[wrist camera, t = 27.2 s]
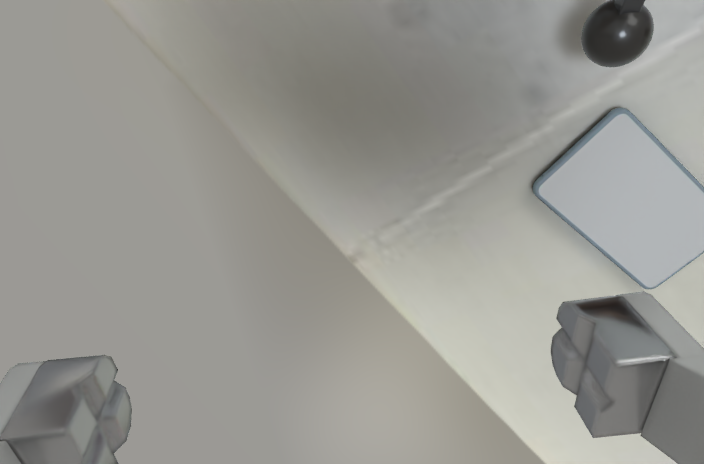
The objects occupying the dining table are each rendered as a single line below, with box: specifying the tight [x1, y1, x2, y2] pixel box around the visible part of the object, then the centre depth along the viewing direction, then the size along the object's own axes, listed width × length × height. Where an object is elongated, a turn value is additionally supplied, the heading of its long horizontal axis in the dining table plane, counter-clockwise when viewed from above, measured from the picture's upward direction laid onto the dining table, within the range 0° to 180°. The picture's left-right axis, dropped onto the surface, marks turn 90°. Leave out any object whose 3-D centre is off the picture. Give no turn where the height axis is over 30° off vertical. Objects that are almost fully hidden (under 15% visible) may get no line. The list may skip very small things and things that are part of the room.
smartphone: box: [533, 108, 704, 289], centre depth 38 cm, size 8×1×15 cm
